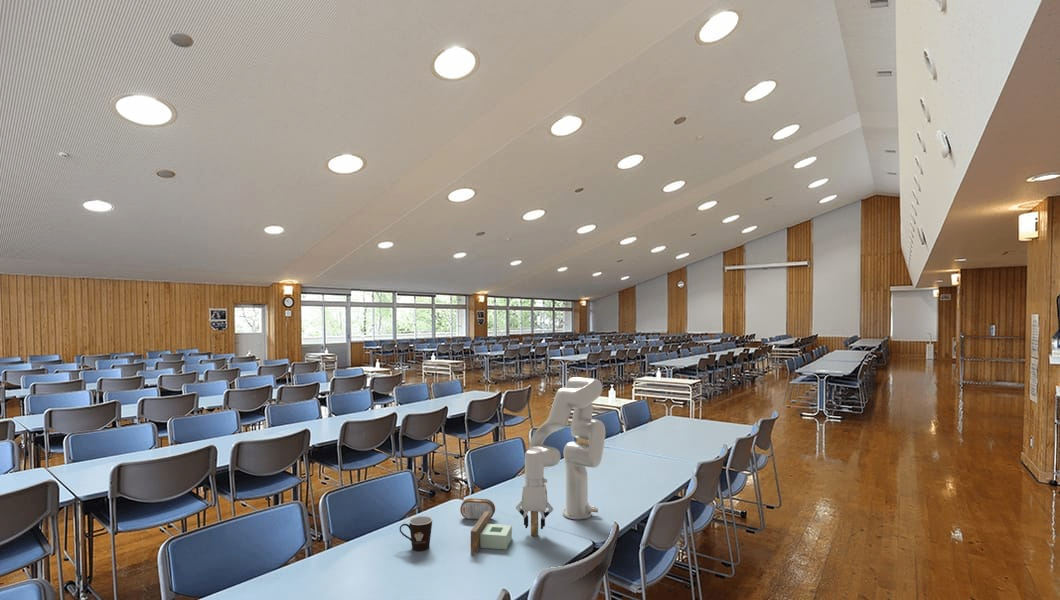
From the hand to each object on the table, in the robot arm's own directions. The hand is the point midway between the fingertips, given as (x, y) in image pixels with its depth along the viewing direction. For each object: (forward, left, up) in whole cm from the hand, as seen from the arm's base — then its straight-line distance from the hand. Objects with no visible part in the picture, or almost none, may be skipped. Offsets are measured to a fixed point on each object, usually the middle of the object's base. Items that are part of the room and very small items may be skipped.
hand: (534, 527), depth 203 cm
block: (+13, +10, -3) cm, 17 cm away
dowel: (0, 0, -3) cm, 3 cm away
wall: (+19, +10, -3) cm, 22 cm away
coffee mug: (+42, +18, -3) cm, 46 cm away
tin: (+27, -12, -3) cm, 30 cm away
